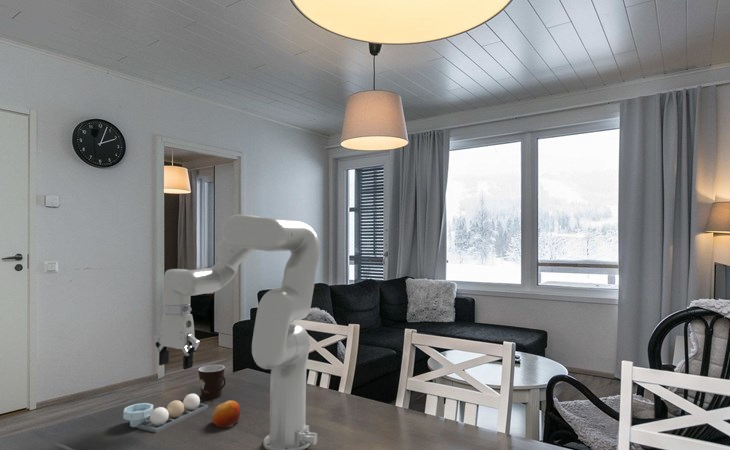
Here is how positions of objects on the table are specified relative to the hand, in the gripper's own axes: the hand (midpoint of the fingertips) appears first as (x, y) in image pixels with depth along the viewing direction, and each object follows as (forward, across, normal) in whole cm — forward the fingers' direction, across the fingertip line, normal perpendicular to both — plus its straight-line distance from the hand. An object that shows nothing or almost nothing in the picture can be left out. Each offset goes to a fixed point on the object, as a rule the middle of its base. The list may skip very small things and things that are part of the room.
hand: (175, 366), depth 138 cm
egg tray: (+16, 0, 0) cm, 16 cm away
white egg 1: (+15, -1, +6) cm, 17 cm away
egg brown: (+15, 0, 0) cm, 15 cm away
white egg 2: (+15, 0, -7) cm, 17 cm away
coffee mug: (+16, +2, -18) cm, 24 cm away
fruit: (+16, -17, -3) cm, 24 cm away
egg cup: (+16, +6, +8) cm, 19 cm away
